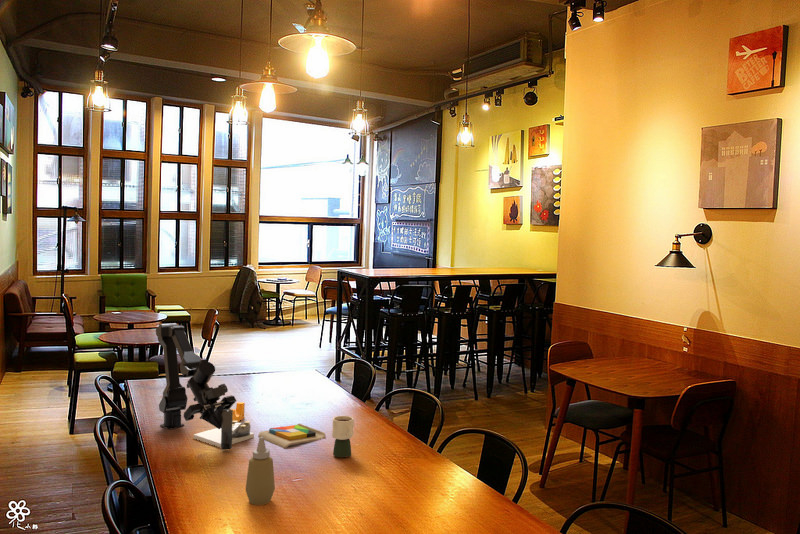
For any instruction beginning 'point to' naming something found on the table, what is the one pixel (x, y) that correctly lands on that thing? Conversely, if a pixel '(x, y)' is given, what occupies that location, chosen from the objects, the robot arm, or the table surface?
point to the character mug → (342, 435)
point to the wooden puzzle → (291, 435)
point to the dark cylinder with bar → (232, 429)
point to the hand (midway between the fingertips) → (221, 428)
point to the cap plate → (218, 437)
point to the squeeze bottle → (260, 476)
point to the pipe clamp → (238, 412)
